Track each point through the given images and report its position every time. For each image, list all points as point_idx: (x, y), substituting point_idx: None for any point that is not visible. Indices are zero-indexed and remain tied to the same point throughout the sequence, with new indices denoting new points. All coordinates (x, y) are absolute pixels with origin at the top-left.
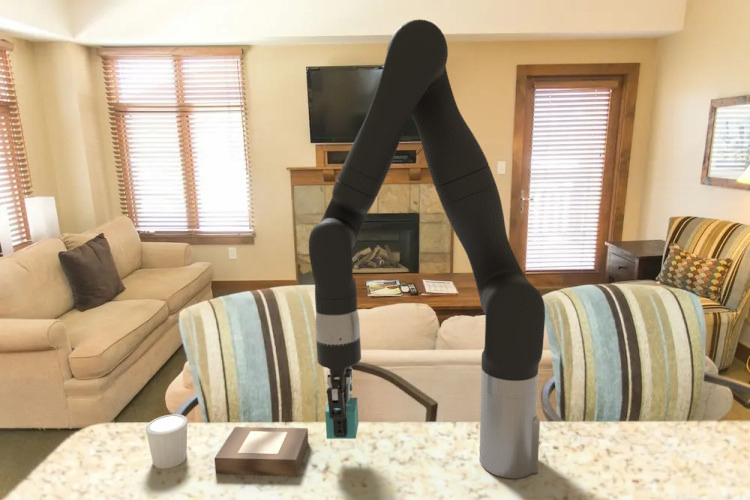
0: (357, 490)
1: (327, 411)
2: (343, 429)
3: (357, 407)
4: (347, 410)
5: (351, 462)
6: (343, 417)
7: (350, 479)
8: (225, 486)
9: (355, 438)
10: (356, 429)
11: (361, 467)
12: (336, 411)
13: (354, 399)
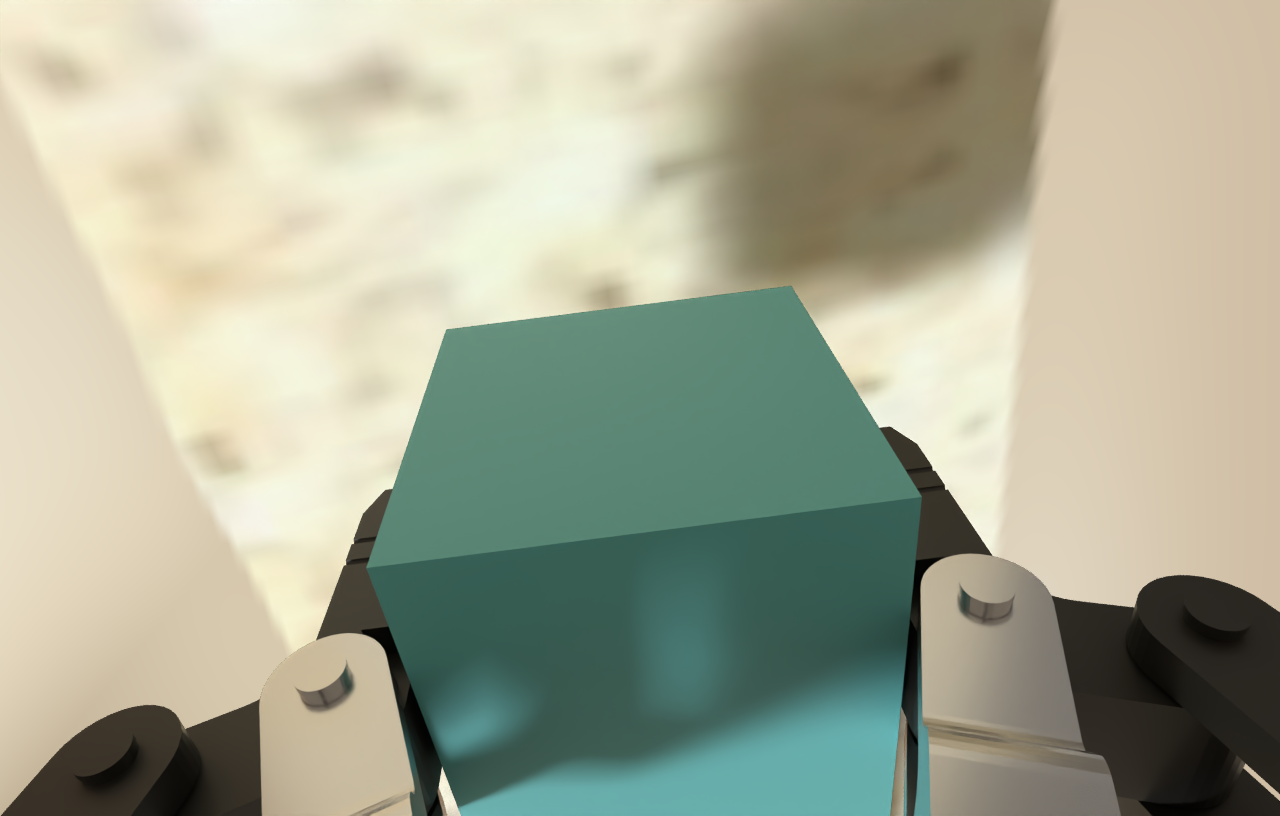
0: (1006, 117)
1: (889, 801)
2: (937, 475)
3: (437, 455)
4: (875, 599)
5: (648, 248)
6: (1267, 616)
7: (869, 204)
8: None
9: (789, 289)
10: (682, 321)
11: (707, 149)
12: (1216, 774)
13: (458, 593)
